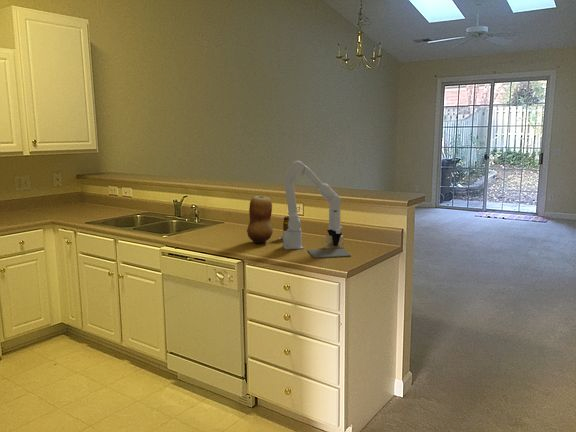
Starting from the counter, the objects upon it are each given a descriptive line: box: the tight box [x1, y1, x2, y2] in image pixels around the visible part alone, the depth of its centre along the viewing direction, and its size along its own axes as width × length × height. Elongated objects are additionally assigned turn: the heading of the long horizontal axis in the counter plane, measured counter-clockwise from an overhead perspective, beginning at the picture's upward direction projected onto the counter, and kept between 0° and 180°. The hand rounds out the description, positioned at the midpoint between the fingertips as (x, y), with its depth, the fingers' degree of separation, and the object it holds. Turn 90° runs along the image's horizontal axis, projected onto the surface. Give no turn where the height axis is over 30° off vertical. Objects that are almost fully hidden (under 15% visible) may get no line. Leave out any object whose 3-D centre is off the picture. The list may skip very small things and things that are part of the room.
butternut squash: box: [246, 195, 274, 244], centre depth 261 cm, size 14×13×25 cm
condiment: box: [278, 215, 289, 240], centre depth 272 cm, size 7×8×12 cm
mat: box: [307, 248, 352, 259], centre depth 239 cm, size 18×14×1 cm
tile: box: [324, 234, 345, 249], centre depth 251 cm, size 9×3×6 cm, turn 100°
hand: (334, 244), depth 251 cm, fingers open, 4 cm apart
